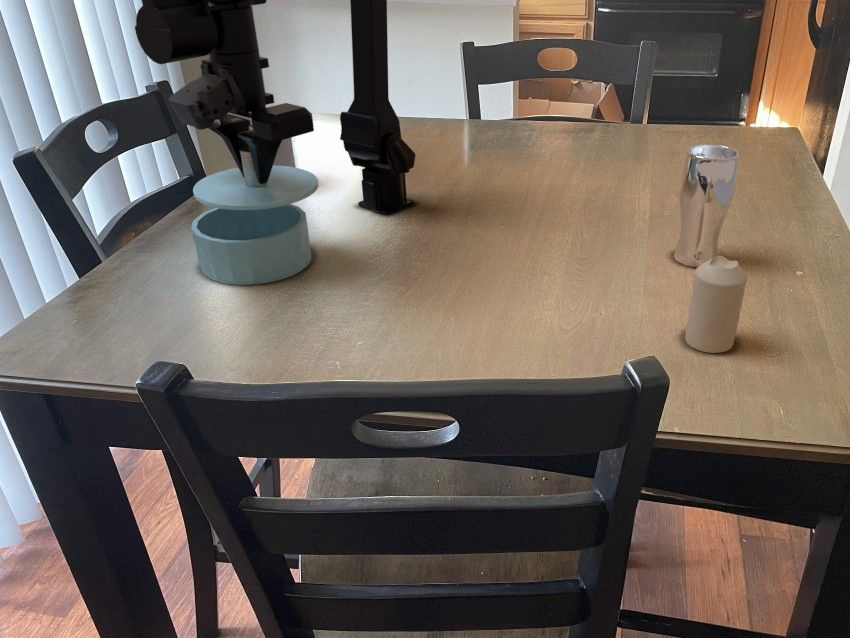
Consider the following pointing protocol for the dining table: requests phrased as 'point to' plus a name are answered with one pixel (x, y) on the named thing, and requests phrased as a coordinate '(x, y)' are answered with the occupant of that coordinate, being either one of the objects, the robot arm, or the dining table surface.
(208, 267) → the pot
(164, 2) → the robot arm
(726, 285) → the candle
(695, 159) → the beer glass
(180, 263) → the dining table surface
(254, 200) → the lid
